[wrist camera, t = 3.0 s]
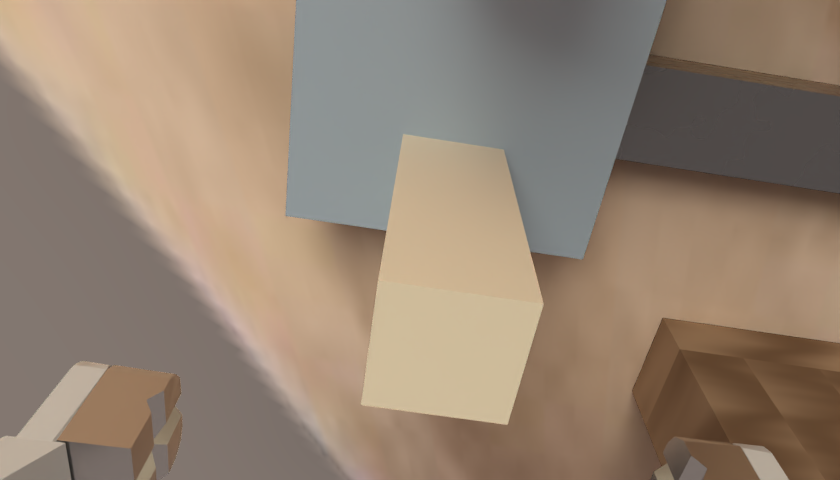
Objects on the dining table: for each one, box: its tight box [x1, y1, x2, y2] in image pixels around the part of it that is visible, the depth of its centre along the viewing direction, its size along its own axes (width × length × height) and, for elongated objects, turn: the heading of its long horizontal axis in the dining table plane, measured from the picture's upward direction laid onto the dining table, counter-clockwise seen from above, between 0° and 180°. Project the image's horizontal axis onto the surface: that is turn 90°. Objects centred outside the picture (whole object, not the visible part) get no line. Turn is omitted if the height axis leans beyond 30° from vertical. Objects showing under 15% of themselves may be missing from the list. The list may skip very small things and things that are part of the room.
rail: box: [616, 55, 840, 193], centre depth 20 cm, size 22×3×2 cm, turn 81°
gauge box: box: [632, 318, 840, 480], centre depth 22 cm, size 8×4×8 cm, turn 81°
